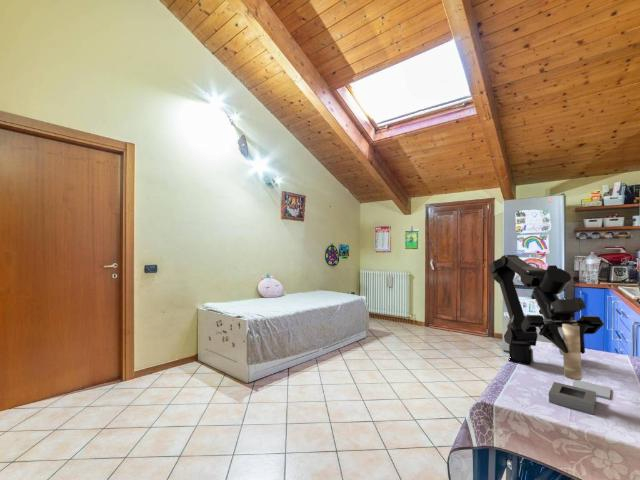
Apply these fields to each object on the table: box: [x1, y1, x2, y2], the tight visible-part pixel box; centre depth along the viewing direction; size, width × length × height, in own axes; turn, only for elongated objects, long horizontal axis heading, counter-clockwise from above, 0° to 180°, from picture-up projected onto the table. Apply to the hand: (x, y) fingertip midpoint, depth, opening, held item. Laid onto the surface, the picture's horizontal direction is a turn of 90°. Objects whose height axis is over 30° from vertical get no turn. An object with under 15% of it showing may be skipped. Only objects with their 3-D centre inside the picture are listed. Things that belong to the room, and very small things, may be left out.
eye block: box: [548, 381, 597, 415], centre depth 81 cm, size 9×9×2 cm
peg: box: [561, 324, 583, 381], centre depth 82 cm, size 4×4×14 cm
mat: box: [572, 380, 612, 400], centre depth 87 cm, size 8×8×1 cm
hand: (575, 352), depth 80 cm, fingers closed on peg, 4 cm apart
